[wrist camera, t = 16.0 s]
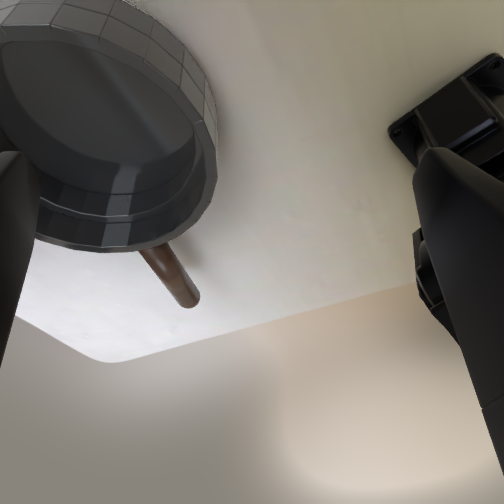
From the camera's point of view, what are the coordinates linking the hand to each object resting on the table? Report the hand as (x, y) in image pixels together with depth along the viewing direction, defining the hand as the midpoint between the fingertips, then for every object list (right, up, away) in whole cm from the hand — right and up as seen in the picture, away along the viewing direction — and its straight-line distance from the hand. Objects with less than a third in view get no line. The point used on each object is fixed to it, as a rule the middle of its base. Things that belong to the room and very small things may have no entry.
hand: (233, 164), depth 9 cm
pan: (-8, +6, +13) cm, 16 cm away
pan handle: (-5, -3, +19) cm, 20 cm away
